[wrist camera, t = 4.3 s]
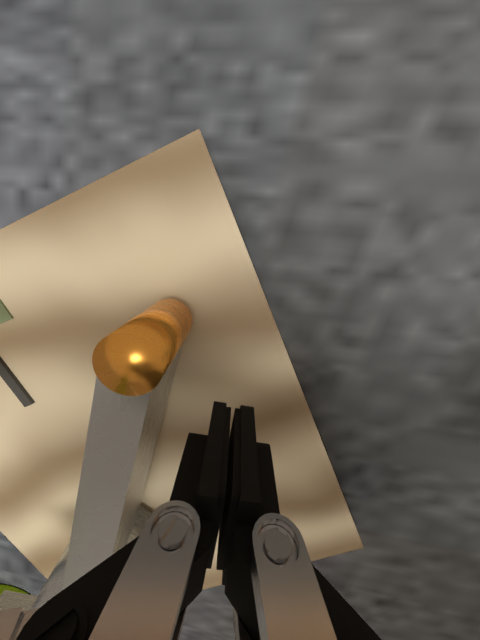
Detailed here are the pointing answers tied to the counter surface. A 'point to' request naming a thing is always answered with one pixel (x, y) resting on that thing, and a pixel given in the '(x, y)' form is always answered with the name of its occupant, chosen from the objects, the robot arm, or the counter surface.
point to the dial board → (117, 309)
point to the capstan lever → (118, 442)
